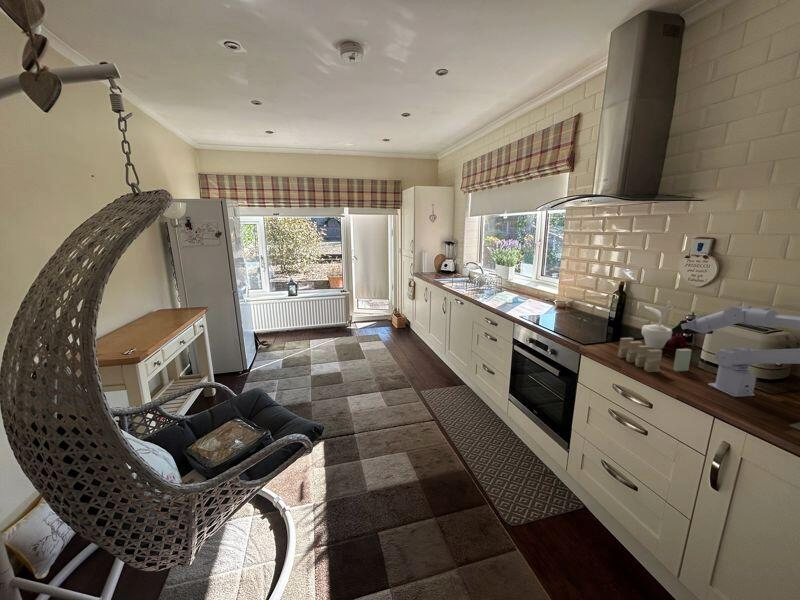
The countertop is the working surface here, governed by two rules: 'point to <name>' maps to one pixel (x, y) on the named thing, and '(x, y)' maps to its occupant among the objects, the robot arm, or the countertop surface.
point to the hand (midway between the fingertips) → (681, 331)
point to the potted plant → (657, 329)
